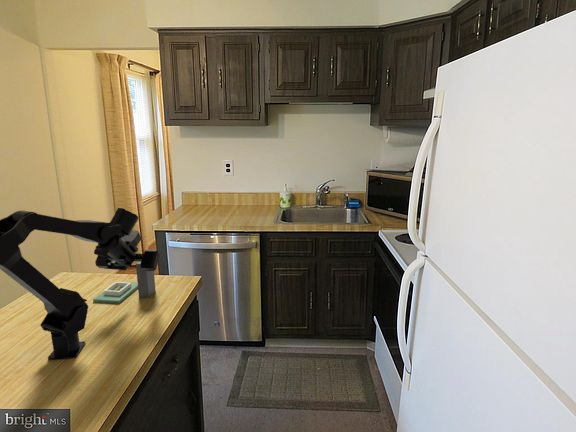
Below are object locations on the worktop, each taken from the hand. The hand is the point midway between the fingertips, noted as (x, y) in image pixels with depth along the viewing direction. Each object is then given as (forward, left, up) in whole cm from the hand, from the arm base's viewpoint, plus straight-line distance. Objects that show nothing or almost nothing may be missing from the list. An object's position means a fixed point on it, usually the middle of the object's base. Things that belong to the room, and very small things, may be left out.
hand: (139, 269), depth 116 cm
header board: (+6, +9, -11) cm, 15 cm away
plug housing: (+4, -1, -11) cm, 11 cm away
